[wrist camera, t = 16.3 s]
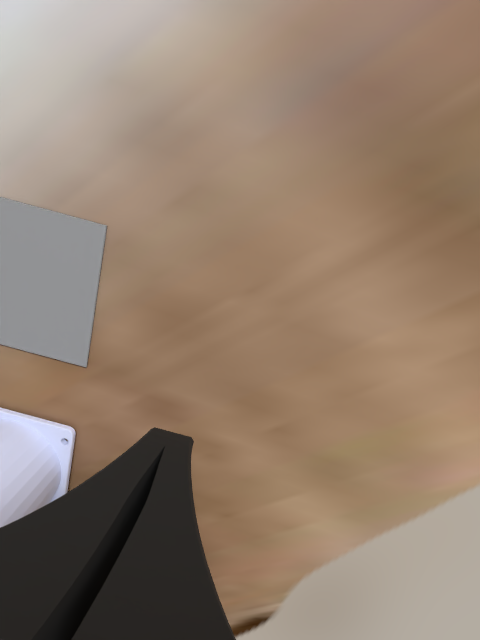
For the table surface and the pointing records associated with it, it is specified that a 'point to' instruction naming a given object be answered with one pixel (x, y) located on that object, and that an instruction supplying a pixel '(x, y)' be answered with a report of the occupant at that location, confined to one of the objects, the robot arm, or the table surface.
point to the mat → (48, 281)
